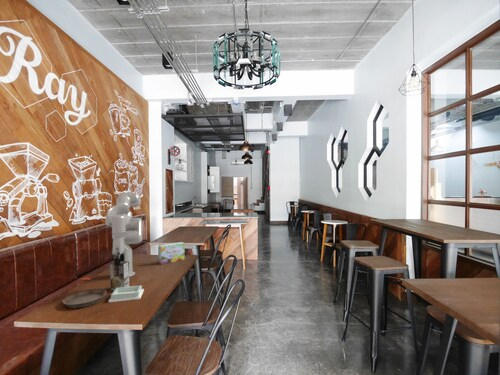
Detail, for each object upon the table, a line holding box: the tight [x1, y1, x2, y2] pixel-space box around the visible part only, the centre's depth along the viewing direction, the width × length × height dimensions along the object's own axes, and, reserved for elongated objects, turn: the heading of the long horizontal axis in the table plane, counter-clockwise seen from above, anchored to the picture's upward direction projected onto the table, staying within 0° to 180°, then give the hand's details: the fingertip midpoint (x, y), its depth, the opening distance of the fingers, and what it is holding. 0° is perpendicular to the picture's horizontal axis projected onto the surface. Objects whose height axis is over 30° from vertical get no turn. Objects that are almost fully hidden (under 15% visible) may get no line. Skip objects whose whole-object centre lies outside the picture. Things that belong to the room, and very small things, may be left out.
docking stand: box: [108, 285, 145, 303], centre depth 154 cm, size 13×16×4 cm
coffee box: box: [109, 261, 131, 291], centre depth 166 cm, size 9×6×16 cm
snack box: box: [157, 241, 185, 265], centre depth 226 cm, size 21×6×15 cm, turn 131°
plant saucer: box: [62, 288, 107, 309], centre depth 149 cm, size 21×21×3 cm
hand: (119, 263), depth 166 cm, fingers open, 9 cm apart
